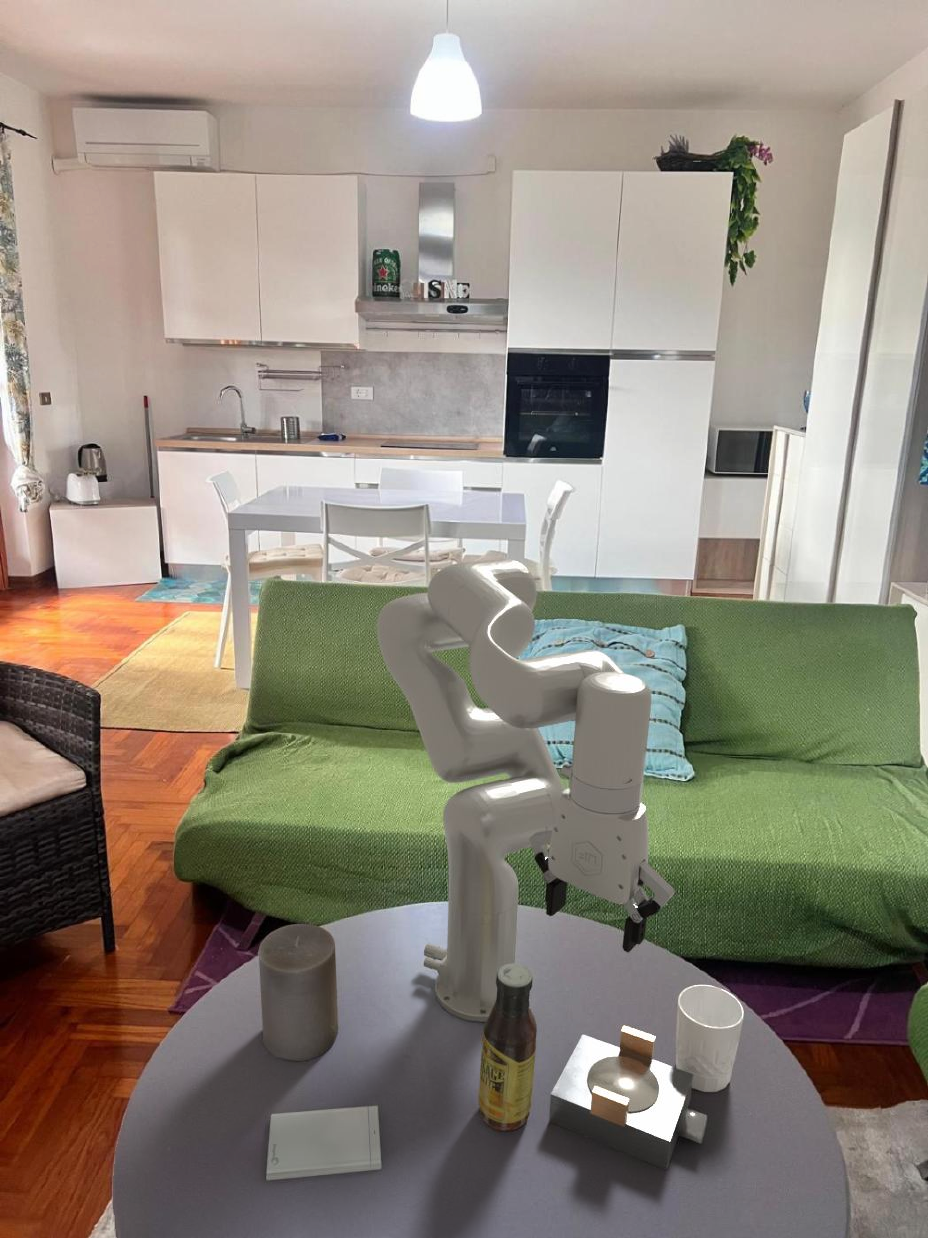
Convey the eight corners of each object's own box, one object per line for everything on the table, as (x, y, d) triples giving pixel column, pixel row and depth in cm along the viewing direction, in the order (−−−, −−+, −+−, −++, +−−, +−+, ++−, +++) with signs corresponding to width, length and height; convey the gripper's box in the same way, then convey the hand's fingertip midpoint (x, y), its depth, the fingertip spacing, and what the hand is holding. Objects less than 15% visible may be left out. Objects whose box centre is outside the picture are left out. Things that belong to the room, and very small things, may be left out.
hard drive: (265, 1173, 98) (381, 1161, 100) (270, 1112, 106) (377, 1102, 107) (266, 1185, 98) (381, 1173, 100) (271, 1124, 106) (377, 1114, 108)
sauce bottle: (469, 1102, 109) (474, 960, 104) (516, 1087, 112) (523, 948, 106) (492, 1144, 103) (499, 997, 98) (541, 1127, 106) (550, 983, 100)
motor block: (547, 1125, 106) (550, 1075, 104) (581, 1058, 117) (585, 1012, 115) (689, 1184, 99) (696, 1132, 97) (713, 1107, 109) (719, 1059, 108)
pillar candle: (319, 1000, 125) (315, 906, 121) (350, 1044, 118) (348, 945, 113) (251, 1027, 120) (245, 929, 116) (280, 1075, 112) (274, 972, 108)
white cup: (737, 1102, 110) (746, 1033, 108) (671, 1090, 112) (678, 1022, 109) (732, 1055, 118) (741, 990, 115) (670, 1045, 119) (677, 980, 116)
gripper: (517, 775, 98) (509, 912, 103) (665, 830, 88) (648, 979, 93) (555, 753, 104) (545, 883, 109) (697, 802, 94) (679, 943, 99)
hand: (592, 927), depth 101 cm, fingers open, 9 cm apart
